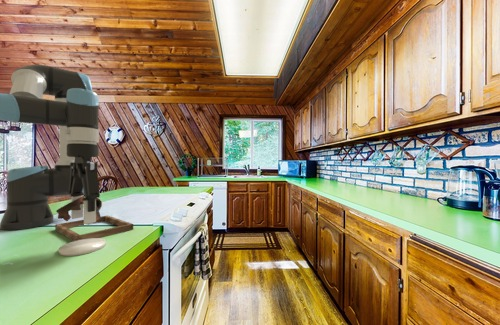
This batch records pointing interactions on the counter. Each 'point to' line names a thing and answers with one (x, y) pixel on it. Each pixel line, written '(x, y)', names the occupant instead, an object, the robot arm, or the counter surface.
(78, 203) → the brown hollow round piece
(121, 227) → the walnut frame
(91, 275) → the counter surface
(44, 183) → the robot arm
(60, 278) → the counter surface
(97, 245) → the white dome
